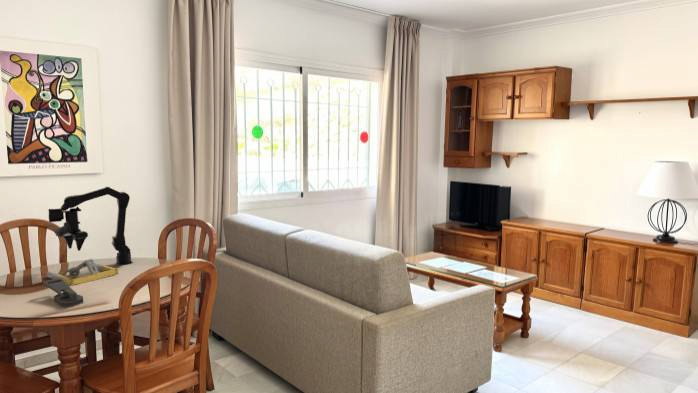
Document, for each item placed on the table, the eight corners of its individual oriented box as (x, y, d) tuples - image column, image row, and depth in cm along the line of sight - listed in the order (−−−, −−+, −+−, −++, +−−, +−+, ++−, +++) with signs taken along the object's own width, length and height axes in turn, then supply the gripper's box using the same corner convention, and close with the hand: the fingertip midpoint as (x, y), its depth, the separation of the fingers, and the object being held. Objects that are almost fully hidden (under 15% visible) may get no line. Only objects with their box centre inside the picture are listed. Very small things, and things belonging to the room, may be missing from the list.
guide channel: (93, 266, 263) (93, 262, 263) (118, 274, 249) (118, 269, 249) (47, 276, 245) (47, 272, 244) (71, 285, 230) (71, 280, 230)
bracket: (83, 281, 236) (74, 263, 237) (65, 293, 241) (56, 275, 242) (101, 275, 246) (92, 258, 247) (83, 287, 251) (74, 270, 252)
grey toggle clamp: (62, 277, 221) (85, 287, 205) (63, 291, 222) (86, 302, 206) (40, 281, 214) (62, 292, 198) (41, 296, 215) (63, 308, 199)
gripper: (46, 221, 253) (49, 250, 255) (64, 224, 243) (67, 254, 245) (69, 217, 262) (71, 246, 264) (87, 220, 252) (89, 250, 254)
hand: (74, 249), depth 256 cm, fingers open, 9 cm apart
